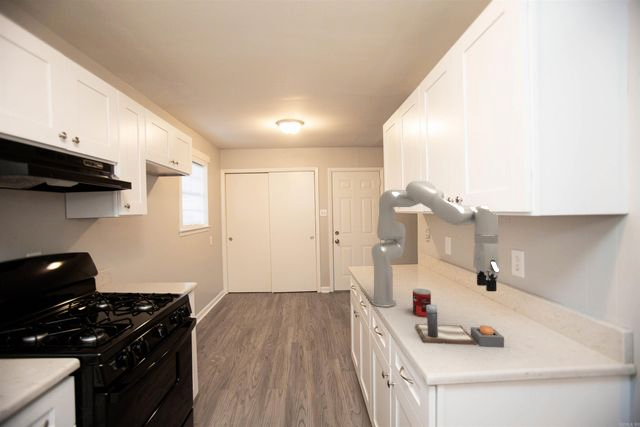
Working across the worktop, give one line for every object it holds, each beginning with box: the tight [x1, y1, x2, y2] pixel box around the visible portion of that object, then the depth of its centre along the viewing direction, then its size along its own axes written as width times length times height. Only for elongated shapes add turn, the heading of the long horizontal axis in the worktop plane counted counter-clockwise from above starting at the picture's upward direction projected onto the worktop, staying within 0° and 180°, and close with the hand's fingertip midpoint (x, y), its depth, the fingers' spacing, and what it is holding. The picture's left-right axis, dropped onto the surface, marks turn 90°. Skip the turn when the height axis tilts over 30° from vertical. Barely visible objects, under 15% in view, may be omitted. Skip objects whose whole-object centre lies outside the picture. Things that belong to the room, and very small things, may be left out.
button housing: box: [470, 326, 505, 348], centre depth 105 cm, size 8×8×4 cm
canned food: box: [412, 288, 432, 318], centre depth 132 cm, size 8×8×11 cm
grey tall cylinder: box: [426, 304, 439, 338], centre depth 107 cm, size 4×4×11 cm
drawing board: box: [414, 323, 477, 346], centre depth 110 cm, size 14×18×1 cm
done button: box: [479, 325, 495, 335], centre depth 105 cm, size 4×4×3 cm
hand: (486, 287), depth 104 cm, fingers open, 6 cm apart
